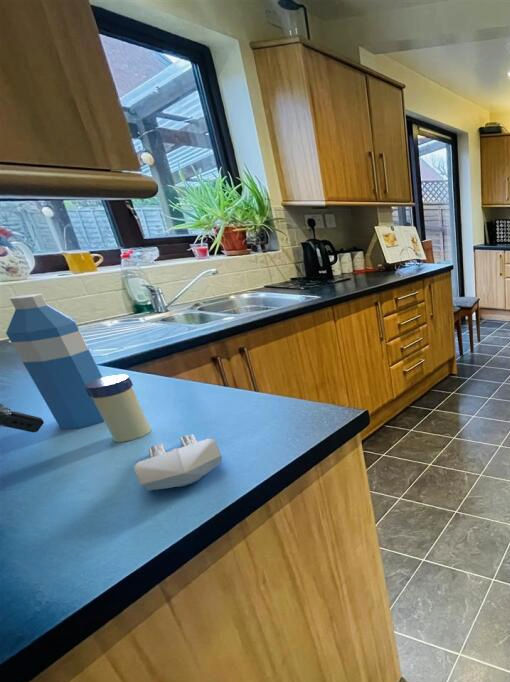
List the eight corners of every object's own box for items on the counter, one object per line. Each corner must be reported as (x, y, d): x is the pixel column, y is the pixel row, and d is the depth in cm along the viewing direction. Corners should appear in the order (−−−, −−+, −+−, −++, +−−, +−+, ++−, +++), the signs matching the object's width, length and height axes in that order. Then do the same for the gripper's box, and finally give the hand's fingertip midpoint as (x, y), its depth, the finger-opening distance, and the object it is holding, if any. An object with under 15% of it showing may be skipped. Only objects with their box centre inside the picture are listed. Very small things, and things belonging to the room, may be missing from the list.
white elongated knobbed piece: (211, 444, 75) (201, 421, 73) (232, 474, 61) (221, 446, 59) (141, 468, 68) (129, 443, 67) (147, 508, 54) (132, 477, 53)
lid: (81, 399, 68) (76, 390, 67) (99, 387, 73) (94, 378, 72) (124, 393, 70) (119, 384, 69) (138, 381, 75) (134, 372, 74)
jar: (107, 444, 72) (80, 392, 68) (121, 430, 77) (96, 380, 72) (144, 438, 74) (119, 386, 69) (156, 424, 78) (133, 375, 74)
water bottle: (74, 432, 76) (2, 303, 66) (47, 425, 80) (-26, 300, 69) (131, 410, 84) (74, 292, 74) (104, 405, 87) (46, 290, 77)
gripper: (-127, 368, 49) (63, 415, 63) (-122, 349, 56) (48, 395, 70) (-175, 424, 47) (31, 460, 61) (-163, 397, 54) (19, 435, 68)
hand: (39, 425), depth 66 cm, fingers closed
